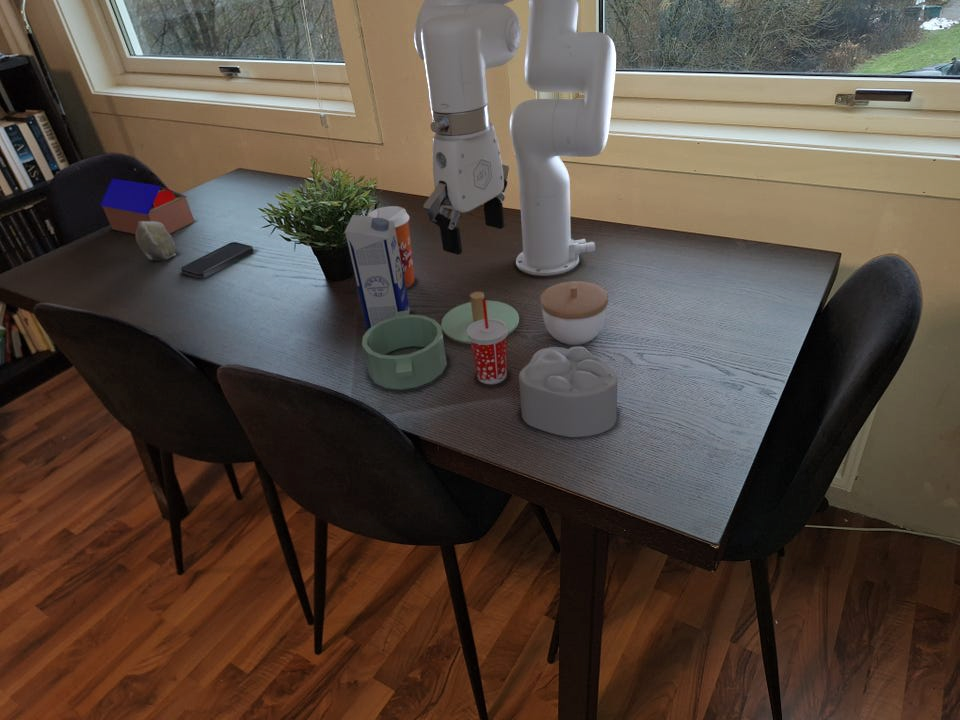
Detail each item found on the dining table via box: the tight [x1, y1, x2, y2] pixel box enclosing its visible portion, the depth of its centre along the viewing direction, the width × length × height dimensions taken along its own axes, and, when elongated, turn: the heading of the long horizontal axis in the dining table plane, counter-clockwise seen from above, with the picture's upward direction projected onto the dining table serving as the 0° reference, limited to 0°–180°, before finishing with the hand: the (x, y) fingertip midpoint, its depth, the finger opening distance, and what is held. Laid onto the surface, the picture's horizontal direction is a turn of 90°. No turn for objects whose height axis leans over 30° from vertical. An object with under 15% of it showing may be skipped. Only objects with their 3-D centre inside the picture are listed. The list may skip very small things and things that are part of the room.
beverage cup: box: [467, 298, 508, 385], centre depth 98 cm, size 6×6×14 cm
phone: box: [180, 241, 254, 279], centre depth 148 cm, size 8×1×15 cm
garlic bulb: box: [135, 221, 177, 262], centre depth 152 cm, size 9×8×10 cm
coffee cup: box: [367, 205, 415, 288], centre depth 127 cm, size 8×8×15 cm
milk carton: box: [344, 214, 411, 330], centre depth 113 cm, size 7×7×20 cm
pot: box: [361, 310, 448, 390], centre depth 105 cm, size 13×18×6 cm
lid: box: [440, 291, 520, 345], centre depth 114 cm, size 14×14×6 cm
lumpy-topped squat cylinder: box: [518, 345, 618, 438], centre depth 91 cm, size 10×13×9 cm
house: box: [99, 178, 196, 235], centre depth 169 cm, size 12×20×12 cm, turn 59°
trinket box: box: [540, 280, 609, 346], centre depth 107 cm, size 11×11×9 cm
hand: (474, 238), depth 97 cm, fingers open, 9 cm apart
